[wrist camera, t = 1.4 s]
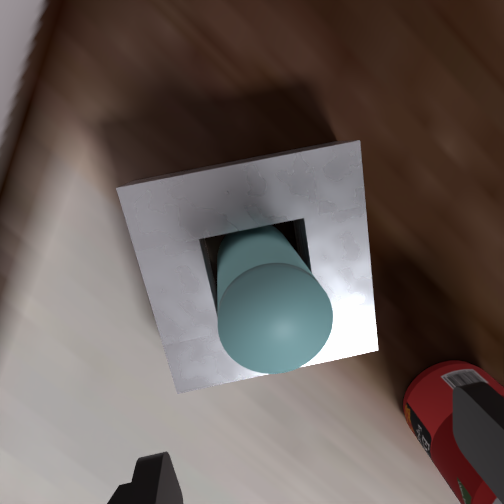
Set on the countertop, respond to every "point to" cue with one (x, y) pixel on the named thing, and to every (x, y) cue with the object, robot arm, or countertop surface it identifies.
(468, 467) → the canned food
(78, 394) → the countertop surface
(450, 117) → the countertop surface
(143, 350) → the countertop surface
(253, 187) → the housing
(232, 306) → the teal cylinder
